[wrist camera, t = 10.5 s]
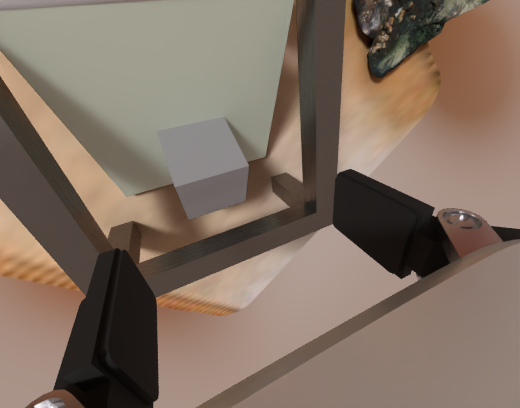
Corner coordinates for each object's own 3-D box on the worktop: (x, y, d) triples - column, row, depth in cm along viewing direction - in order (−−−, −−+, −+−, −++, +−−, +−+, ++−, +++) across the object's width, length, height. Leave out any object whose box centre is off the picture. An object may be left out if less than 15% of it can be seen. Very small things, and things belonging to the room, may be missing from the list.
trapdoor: (-331, -384, 4) (-419, -414, 3) (312, -224, 8) (343, -220, 7) (124, 183, 21) (127, 201, 20) (259, 146, 25) (267, 160, 24)
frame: (-41, -16, 12) (-310, -155, 5) (269, -27, 18) (350, -104, 10) (120, 243, 23) (105, 318, 15) (287, 186, 28) (334, 223, 21)
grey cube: (156, 131, 16) (174, 187, 14) (223, 116, 17) (249, 165, 15) (173, 173, 20) (188, 220, 18) (225, 158, 21) (245, 201, 19)
